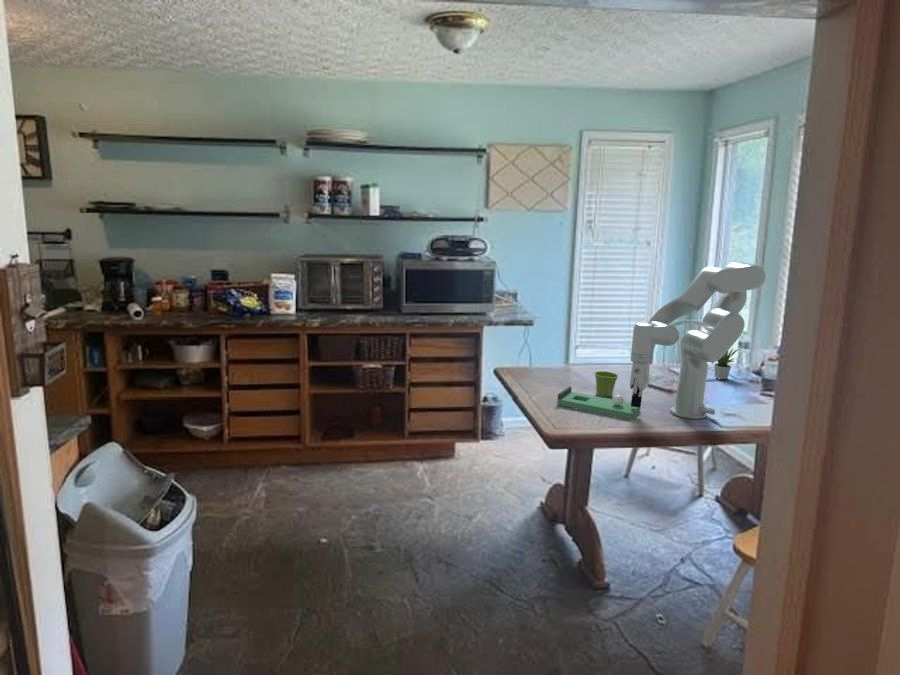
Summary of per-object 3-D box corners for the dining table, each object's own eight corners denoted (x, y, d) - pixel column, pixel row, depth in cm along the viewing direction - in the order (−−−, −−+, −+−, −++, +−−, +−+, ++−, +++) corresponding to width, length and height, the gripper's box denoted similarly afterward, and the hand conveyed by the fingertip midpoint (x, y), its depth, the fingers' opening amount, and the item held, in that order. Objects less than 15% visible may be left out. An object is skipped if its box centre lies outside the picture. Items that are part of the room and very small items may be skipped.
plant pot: (616, 393, 266) (618, 372, 264) (615, 399, 257) (618, 378, 255) (593, 390, 268) (595, 370, 267) (591, 396, 259) (593, 375, 258)
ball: (624, 405, 242) (625, 394, 241) (621, 407, 238) (622, 397, 238) (613, 403, 244) (614, 392, 243) (610, 405, 240) (611, 395, 239)
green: (639, 410, 244) (641, 399, 243) (631, 419, 233) (633, 408, 232) (568, 397, 257) (569, 386, 256) (557, 405, 246) (558, 394, 245)
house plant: (734, 375, 306) (739, 341, 302) (744, 383, 292) (749, 348, 289) (703, 373, 307) (707, 339, 304) (711, 381, 293) (716, 345, 290)
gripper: (647, 363, 226) (641, 413, 230) (656, 355, 239) (650, 403, 243) (625, 359, 229) (620, 409, 233) (635, 352, 242) (630, 399, 246)
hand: (635, 406), depth 238 cm, fingers closed
